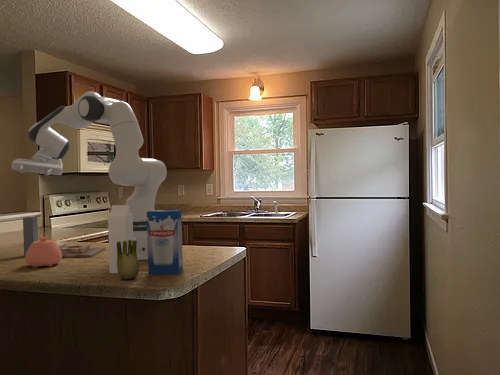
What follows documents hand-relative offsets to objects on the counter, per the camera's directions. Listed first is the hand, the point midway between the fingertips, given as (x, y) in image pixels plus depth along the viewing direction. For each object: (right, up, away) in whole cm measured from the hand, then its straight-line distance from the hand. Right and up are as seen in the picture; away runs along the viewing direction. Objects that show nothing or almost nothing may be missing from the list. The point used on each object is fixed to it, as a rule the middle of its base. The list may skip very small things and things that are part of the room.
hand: (34, 172), depth 182 cm
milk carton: (+65, -34, -43) cm, 85 cm away
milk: (+50, -34, -40) cm, 73 cm away
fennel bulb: (+55, -35, -51) cm, 83 cm away
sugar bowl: (+16, -35, -25) cm, 46 cm away
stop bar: (+1, -35, -3) cm, 35 cm away
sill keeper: (+19, -34, -3) cm, 39 cm away
